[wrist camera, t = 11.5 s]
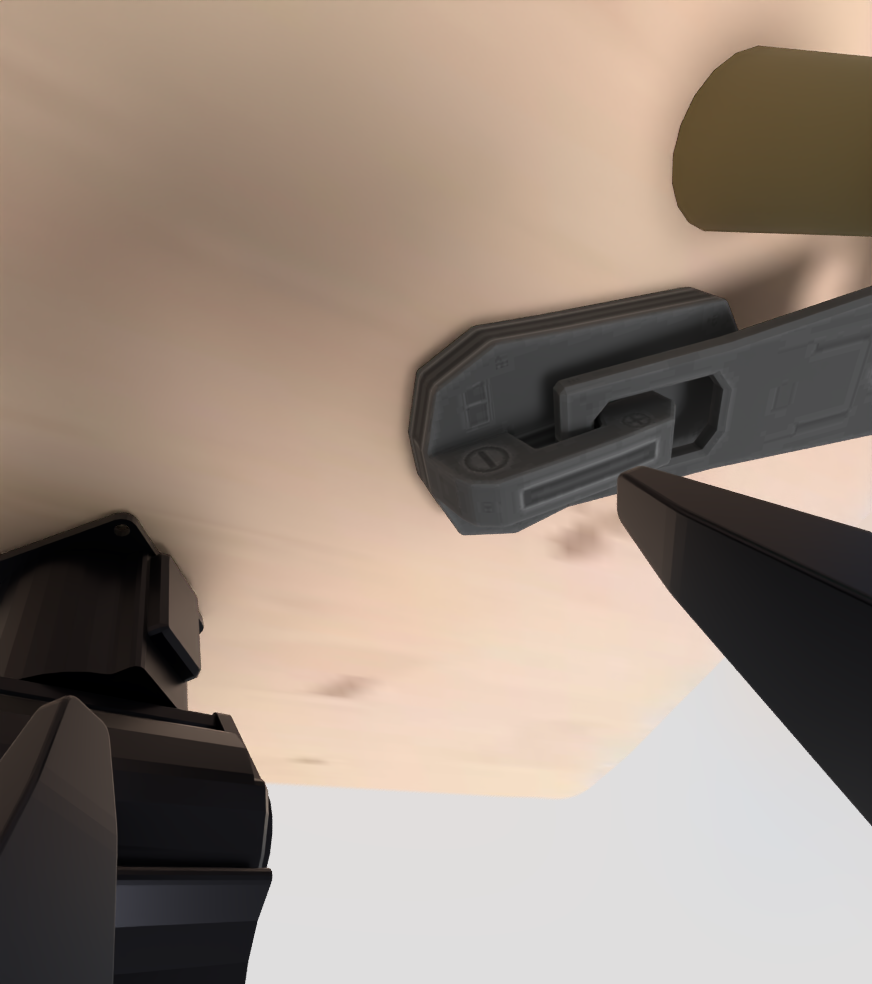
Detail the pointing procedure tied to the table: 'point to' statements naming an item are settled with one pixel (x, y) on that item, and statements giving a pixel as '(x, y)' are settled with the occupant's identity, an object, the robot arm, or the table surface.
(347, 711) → the table surface
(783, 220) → the cork
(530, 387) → the zipper pull
